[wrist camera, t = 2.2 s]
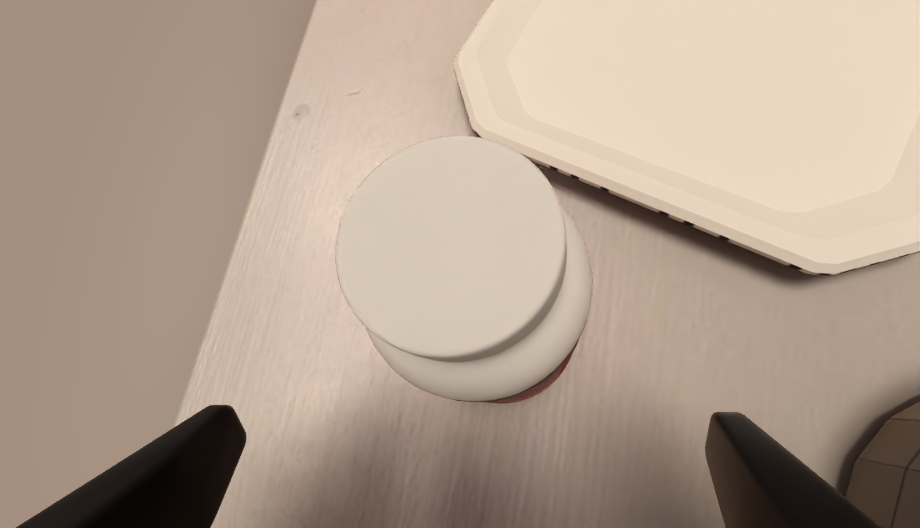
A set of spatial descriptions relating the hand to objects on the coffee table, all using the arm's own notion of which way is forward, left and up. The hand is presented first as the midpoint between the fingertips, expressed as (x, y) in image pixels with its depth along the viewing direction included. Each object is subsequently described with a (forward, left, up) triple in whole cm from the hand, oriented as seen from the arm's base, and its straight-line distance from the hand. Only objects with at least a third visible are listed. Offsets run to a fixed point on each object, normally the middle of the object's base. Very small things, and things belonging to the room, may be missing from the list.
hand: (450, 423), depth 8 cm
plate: (+20, -2, -10) cm, 23 cm away
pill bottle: (+3, +1, -10) cm, 11 cm away
